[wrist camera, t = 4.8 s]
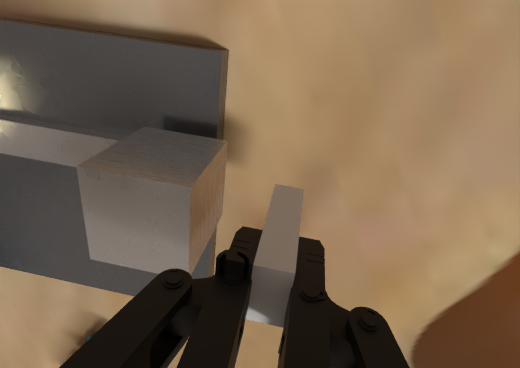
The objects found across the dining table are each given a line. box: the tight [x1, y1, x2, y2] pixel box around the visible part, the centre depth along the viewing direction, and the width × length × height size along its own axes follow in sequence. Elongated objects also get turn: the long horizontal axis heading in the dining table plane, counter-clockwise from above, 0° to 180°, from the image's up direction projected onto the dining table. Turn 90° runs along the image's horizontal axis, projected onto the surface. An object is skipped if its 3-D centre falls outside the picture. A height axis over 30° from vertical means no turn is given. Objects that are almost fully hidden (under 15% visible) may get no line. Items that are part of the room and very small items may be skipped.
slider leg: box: [76, 127, 228, 275], centre depth 19 cm, size 5×10×6 cm, turn 173°
